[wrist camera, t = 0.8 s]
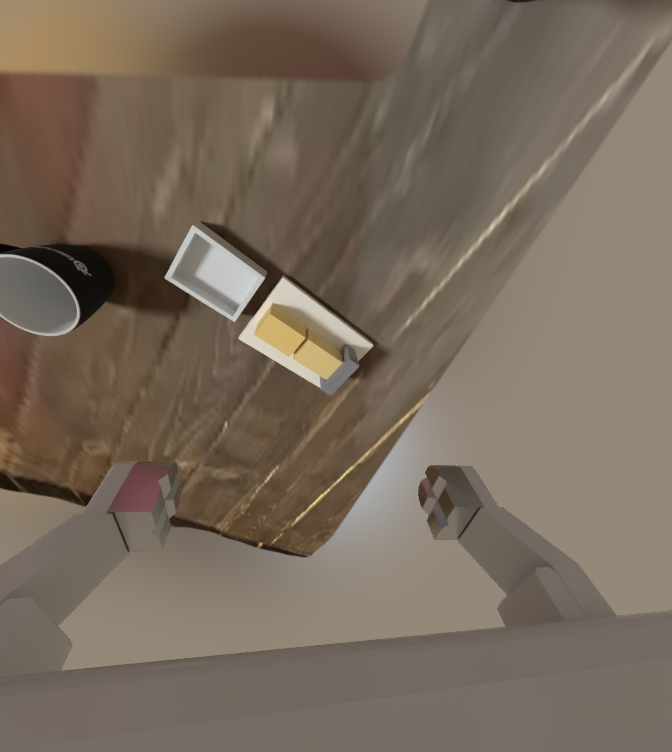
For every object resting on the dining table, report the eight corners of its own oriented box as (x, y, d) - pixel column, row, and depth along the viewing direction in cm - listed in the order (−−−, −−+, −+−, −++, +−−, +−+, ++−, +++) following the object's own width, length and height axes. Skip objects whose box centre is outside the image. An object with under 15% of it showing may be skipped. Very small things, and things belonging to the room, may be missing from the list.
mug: (132, 261, 39) (88, 285, 31) (115, 315, 43) (72, 349, 35) (21, 203, 35) (-67, 213, 26) (13, 269, 38) (-65, 296, 30)
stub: (272, 303, 43) (270, 313, 40) (305, 326, 46) (305, 337, 43) (257, 323, 45) (254, 335, 41) (290, 344, 47) (289, 357, 44)
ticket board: (283, 275, 42) (280, 289, 37) (372, 342, 50) (380, 361, 45) (239, 335, 47) (232, 355, 42) (327, 388, 55) (330, 410, 50)
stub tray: (199, 221, 38) (192, 224, 35) (267, 271, 42) (265, 277, 39) (172, 271, 41) (164, 278, 38) (238, 313, 45) (234, 322, 42)
